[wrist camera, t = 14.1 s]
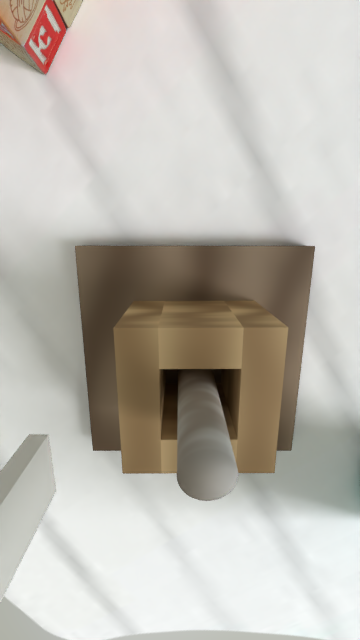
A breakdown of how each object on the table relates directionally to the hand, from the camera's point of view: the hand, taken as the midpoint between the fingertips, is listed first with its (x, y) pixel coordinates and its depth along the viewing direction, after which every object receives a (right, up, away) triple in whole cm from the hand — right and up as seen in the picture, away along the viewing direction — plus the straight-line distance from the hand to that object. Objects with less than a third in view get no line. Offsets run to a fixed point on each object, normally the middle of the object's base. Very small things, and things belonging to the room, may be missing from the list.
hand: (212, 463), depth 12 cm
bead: (0, +3, +11) cm, 12 cm away
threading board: (0, +3, +13) cm, 13 cm away
